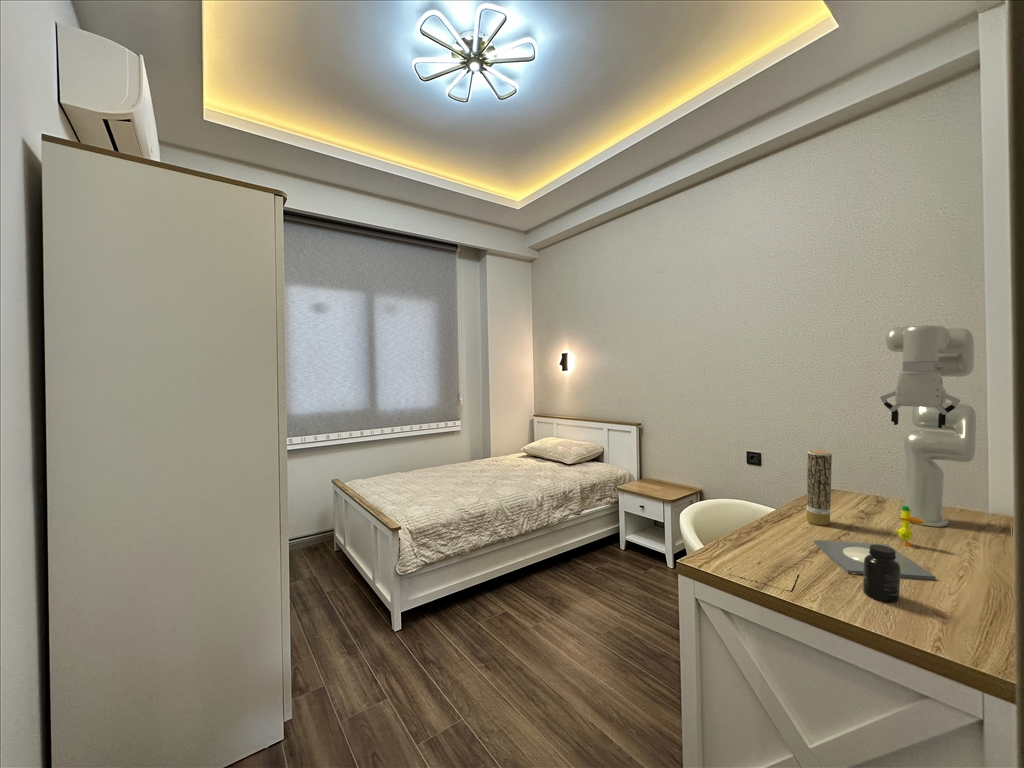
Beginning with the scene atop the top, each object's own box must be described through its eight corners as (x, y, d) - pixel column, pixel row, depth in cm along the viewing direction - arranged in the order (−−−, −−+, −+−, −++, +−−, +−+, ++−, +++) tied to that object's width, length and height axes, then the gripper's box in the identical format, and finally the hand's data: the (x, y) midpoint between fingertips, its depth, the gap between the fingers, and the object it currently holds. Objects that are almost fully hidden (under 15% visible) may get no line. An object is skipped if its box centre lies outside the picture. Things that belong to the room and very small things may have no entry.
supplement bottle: (855, 589, 111) (856, 543, 110) (880, 588, 111) (882, 541, 111) (880, 605, 104) (882, 555, 103) (907, 603, 105) (909, 553, 104)
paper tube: (833, 526, 151) (835, 454, 150) (811, 525, 152) (813, 453, 151) (824, 519, 158) (825, 450, 156) (802, 518, 159) (804, 449, 158)
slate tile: (813, 543, 138) (813, 539, 138) (887, 547, 134) (887, 543, 134) (847, 573, 119) (847, 569, 119) (935, 580, 115) (935, 575, 115)
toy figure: (923, 546, 135) (924, 507, 134) (923, 550, 132) (924, 510, 131) (894, 540, 139) (895, 503, 139) (893, 544, 137) (894, 505, 136)
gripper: (962, 367, 126) (959, 427, 127) (883, 367, 139) (881, 421, 140) (961, 368, 121) (958, 430, 122) (879, 368, 133) (877, 424, 134)
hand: (917, 426), depth 131 cm, fingers open, 9 cm apart
